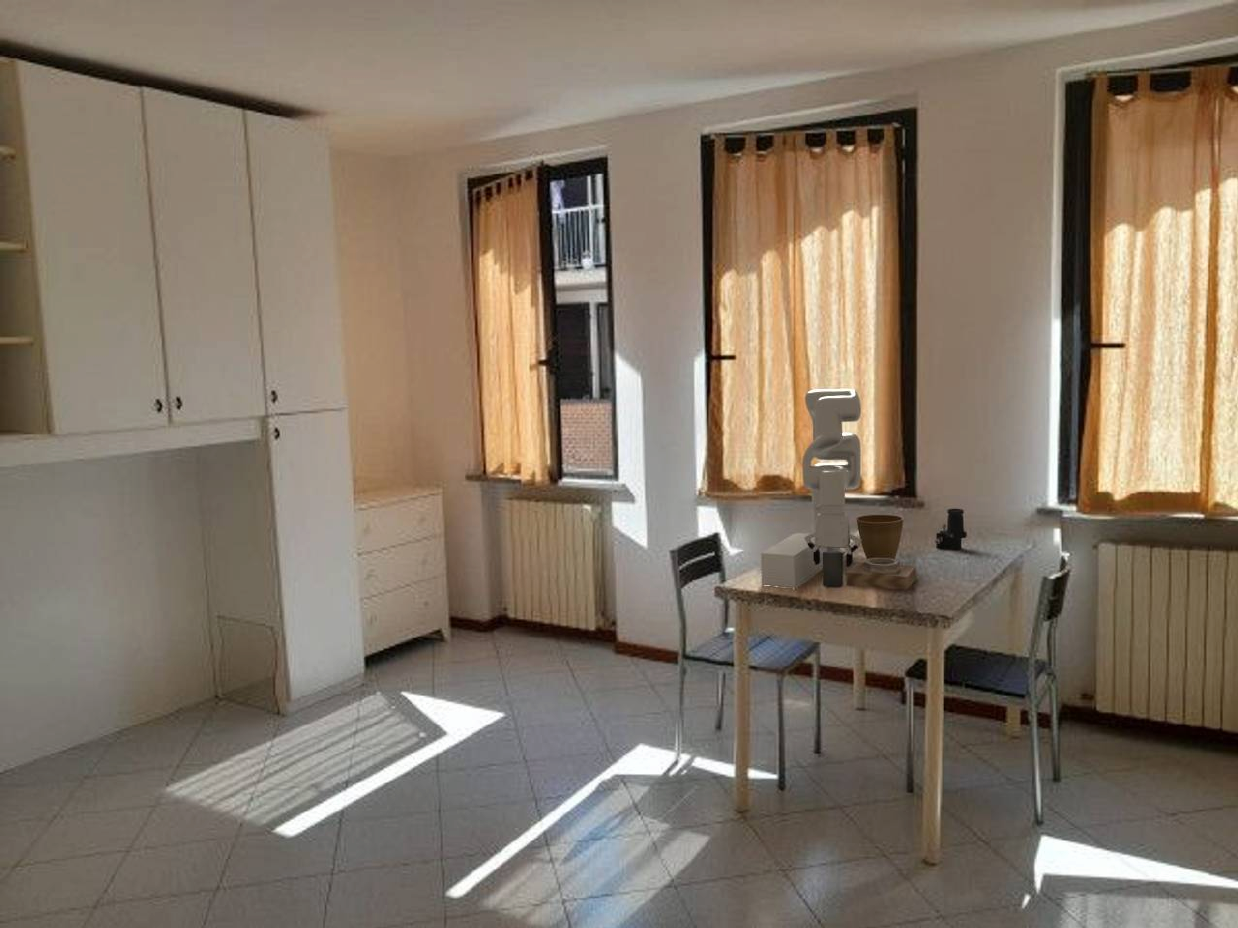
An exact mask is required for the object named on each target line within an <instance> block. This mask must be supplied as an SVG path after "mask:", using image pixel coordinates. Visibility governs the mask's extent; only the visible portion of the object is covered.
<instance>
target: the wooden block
mask: <svg viewBox="0 0 1238 928" xmlns="http://www.w3.org/2000/svg"><path fill="white" fill-rule="evenodd" d="M900 562H901V561H900V560H897V559H896V558H895V559H892V558H879V557H878V558H870V559H866V558H865V560H864V561H863V562H859V561H858V562H856V563H855V564H854V565H853V566H852V567H851V568H849V570H847V572H846V586H850V587H851V586H853V587H865V588H866V587H867V588H877V589H878V588H879V589H889V590H902V591H908V590H909V589H910V587H911V586H912V585H913V583H914V582H915V581H916V577H917V566H915V565H902V564H901V563H900ZM900 564H901V565H900Z"/></svg>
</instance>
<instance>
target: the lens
mask: <svg viewBox="0 0 1238 928" xmlns="http://www.w3.org/2000/svg"><path fill="white" fill-rule="evenodd" d="M822 586H824V587H826V588H840V587H843V586H844V552H843V553H842V552H839V551H826V552H823V569H822Z"/></svg>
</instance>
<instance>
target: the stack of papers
mask: <svg viewBox="0 0 1238 928" xmlns="http://www.w3.org/2000/svg"><path fill="white" fill-rule="evenodd" d="M810 534H811V533H800V532H795V533H793V534H792V535H790V536H788V537H786V538H785V539H783V540H781V541H779V542H778V543H776V544H774V545H772V546H771V547H769V548H768V549H767V548H766V550H764V551H762V552H760V556H761V557H760V559H761V560H760V563H761V564H760V565H761V566H760V567H761V569H760V570H761V573H760V574H761V586H762V585H770V586H778V587H786V588H794V589H793V590H796V589H797V588H798V586H799V587H800V586H802V585H803V584H804V583H806V582H807V581H809V580H810V579H811V578H812V577H814V576H815V575H817V574H819V572H821V571H823V552H826V551H827V550H826V549H827V547H820V548H819V551H820V563H819V564H818V565H815V562H814V558H813V551H812V549H811V548H810V547H809V546H808V544H807V542H806V540H805V537H806V536H808V535H810ZM811 542H812V543H813V544H814V545H815V537H813V538H811ZM801 584H802V585H801ZM786 588H785V589H786ZM795 588H796V589H795Z"/></svg>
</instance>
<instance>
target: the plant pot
mask: <svg viewBox="0 0 1238 928" xmlns="http://www.w3.org/2000/svg"><path fill="white" fill-rule="evenodd" d="M856 523H857V530H858V534H859V538H860V539H861V540H862V541H861V543H860V545H861V546H862V549H863V552H864V556H865V560H866V559H870V558H878V557H879V558H892V559H895V560H896V557H897V554H898V550H899V546H900V541H901V539H902V533H903V527H904V526H903V525H904V517H903V516H900V515H895V514H893V515H892V514H868V515H867V514H866V515H861V516H858V517H856Z"/></svg>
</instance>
